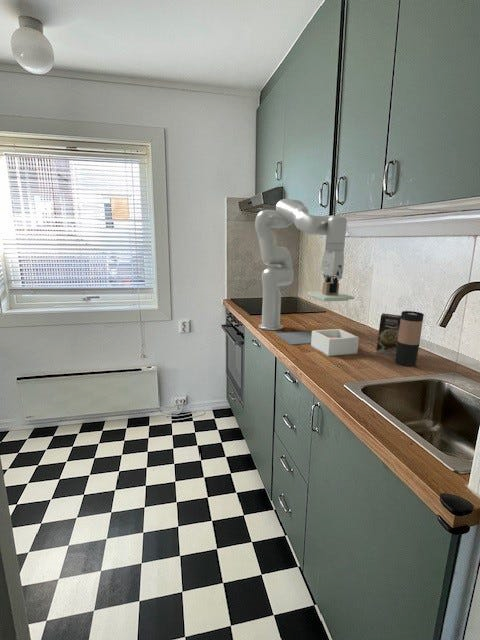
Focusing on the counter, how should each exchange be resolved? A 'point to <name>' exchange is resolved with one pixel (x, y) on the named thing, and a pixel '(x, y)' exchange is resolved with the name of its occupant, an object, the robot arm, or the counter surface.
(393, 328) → the coffee box
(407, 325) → the travel mug
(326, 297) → the lid
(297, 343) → the mat
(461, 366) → the counter surface
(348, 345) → the storage box
